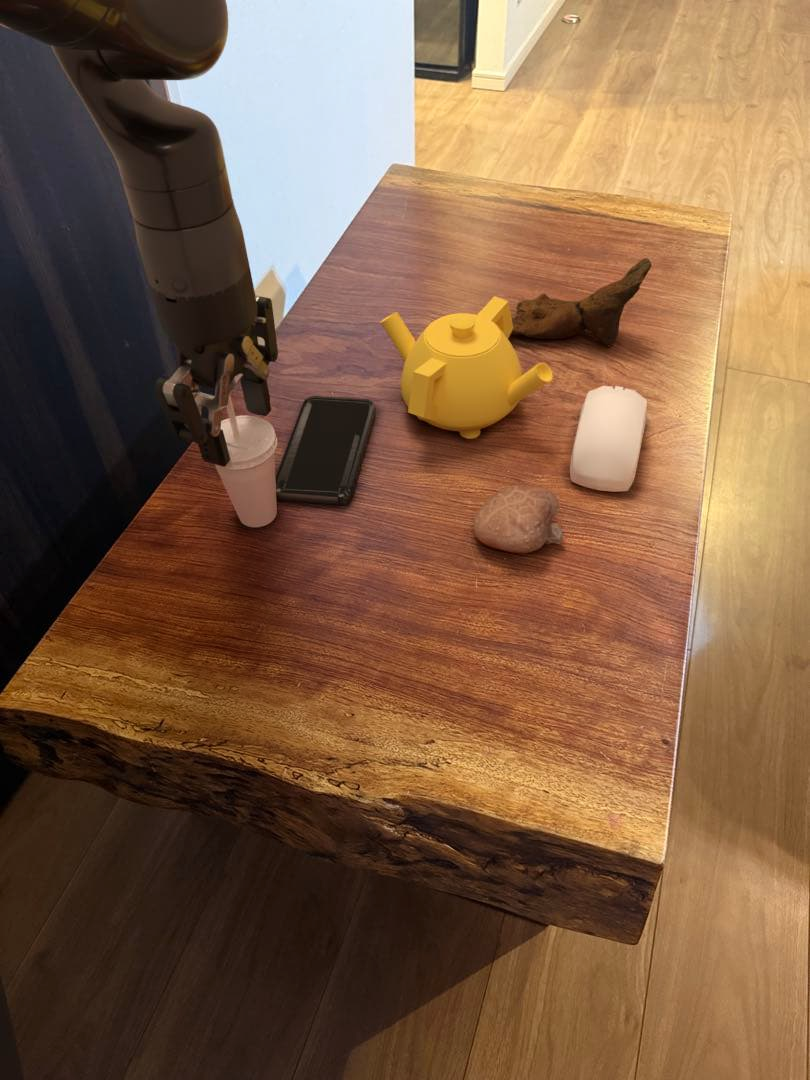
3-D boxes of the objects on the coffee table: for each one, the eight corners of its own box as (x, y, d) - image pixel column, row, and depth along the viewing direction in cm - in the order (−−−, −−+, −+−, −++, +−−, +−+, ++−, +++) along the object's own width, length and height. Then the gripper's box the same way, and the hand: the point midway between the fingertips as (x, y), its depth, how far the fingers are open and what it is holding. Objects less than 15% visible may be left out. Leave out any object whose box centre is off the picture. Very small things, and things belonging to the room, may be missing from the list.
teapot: (582, 394, 92) (595, 305, 83) (500, 493, 82) (505, 402, 74) (429, 339, 100) (427, 252, 91) (338, 423, 90) (326, 334, 82)
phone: (270, 491, 82) (305, 394, 92) (271, 499, 83) (307, 403, 92) (349, 498, 81) (377, 399, 90) (350, 506, 81) (377, 407, 91)
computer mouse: (645, 415, 89) (656, 367, 84) (631, 500, 81) (642, 451, 76) (584, 406, 90) (591, 358, 86) (564, 488, 82) (570, 440, 77)
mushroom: (577, 514, 80) (504, 472, 81) (586, 500, 74) (508, 454, 75) (537, 582, 79) (463, 538, 80) (542, 573, 73) (463, 526, 74)
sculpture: (640, 269, 87) (506, 244, 92) (619, 365, 93) (494, 336, 98) (658, 255, 93) (531, 232, 99) (637, 346, 99) (518, 319, 104)
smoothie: (267, 481, 85) (242, 366, 74) (303, 515, 81) (282, 399, 71) (212, 511, 82) (178, 396, 72) (247, 548, 78) (217, 433, 68)
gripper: (206, 212, 67) (244, 380, 80) (95, 306, 59) (157, 479, 71) (288, 227, 65) (314, 398, 78) (186, 328, 57) (233, 501, 69)
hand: (239, 436), depth 74 cm, fingers open, 6 cm apart
